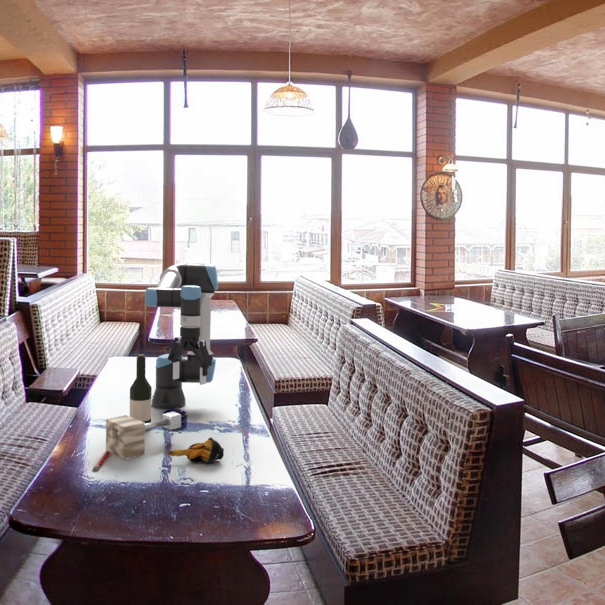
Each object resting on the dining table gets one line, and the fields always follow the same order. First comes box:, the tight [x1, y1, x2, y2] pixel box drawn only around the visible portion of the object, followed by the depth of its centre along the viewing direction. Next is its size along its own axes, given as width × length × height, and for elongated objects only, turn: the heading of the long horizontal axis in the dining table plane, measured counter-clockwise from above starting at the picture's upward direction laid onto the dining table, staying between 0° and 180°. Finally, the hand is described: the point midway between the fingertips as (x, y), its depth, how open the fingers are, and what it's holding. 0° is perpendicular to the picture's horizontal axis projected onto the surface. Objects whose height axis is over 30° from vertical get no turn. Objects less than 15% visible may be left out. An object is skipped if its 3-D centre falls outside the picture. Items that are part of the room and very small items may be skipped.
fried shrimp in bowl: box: [166, 437, 225, 464], centre depth 213 cm, size 9×11×18 cm
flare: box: [92, 451, 111, 472], centre depth 211 cm, size 2×15×2 cm, turn 2°
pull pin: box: [116, 411, 182, 437], centre depth 227 cm, size 5×26×5 cm, turn 138°
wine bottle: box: [129, 353, 153, 432], centre depth 246 cm, size 8×8×30 cm
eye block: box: [105, 414, 146, 461], centre depth 220 cm, size 12×9×12 cm
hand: (189, 381), depth 237 cm, fingers open, 13 cm apart
